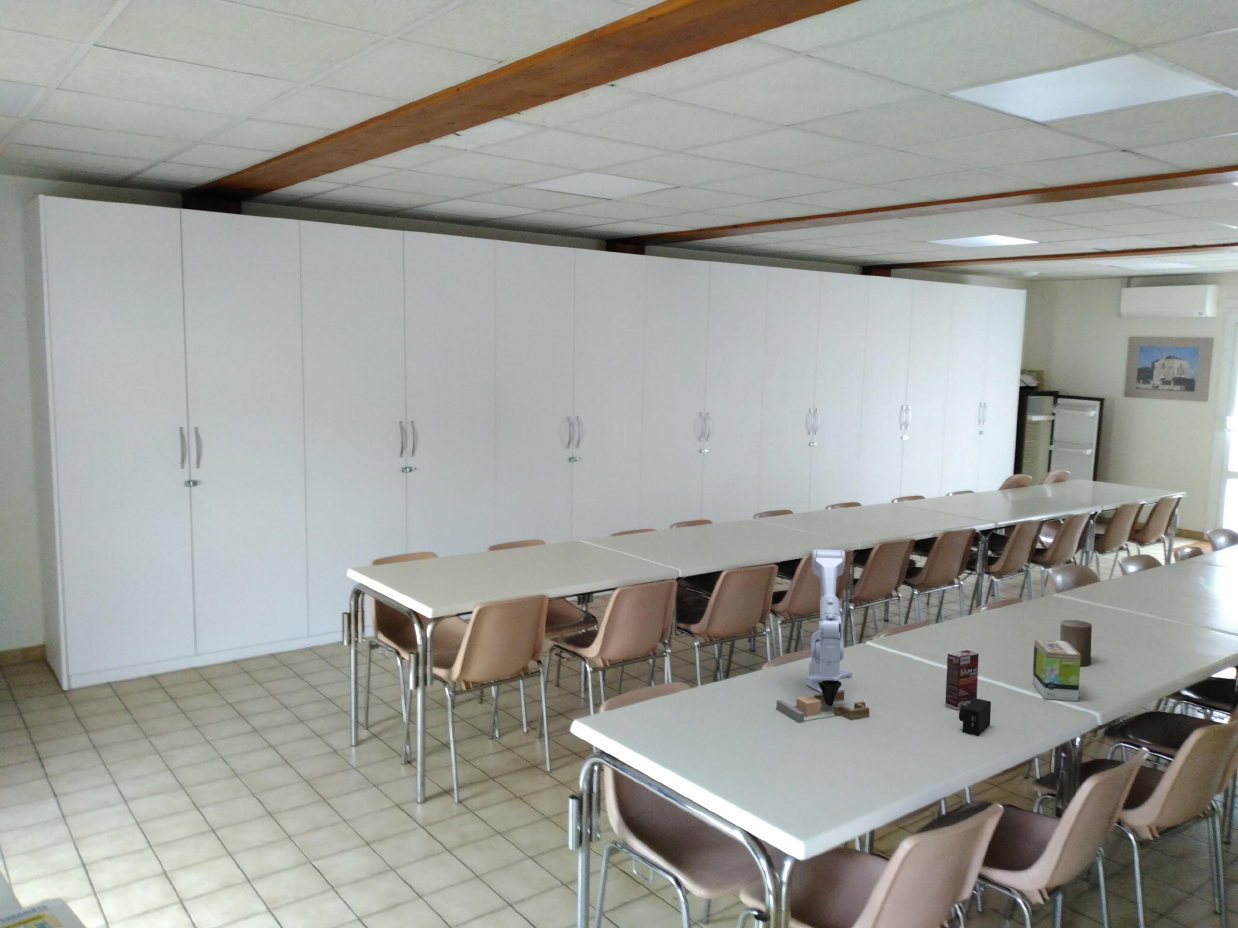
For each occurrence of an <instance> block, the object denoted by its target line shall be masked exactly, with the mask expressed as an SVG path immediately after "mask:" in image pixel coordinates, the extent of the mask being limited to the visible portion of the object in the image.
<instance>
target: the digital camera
mask: <svg viewBox="0 0 1238 928" xmlns="http://www.w3.org/2000/svg"><path fill="white" fill-rule="evenodd" d="M991 708H992V702H991V700H990V701H989V700H987V699H986V700H985V699H982V698H981V699H980V698H978V697H977V698H975V699H974V700H973V701H972V702H970V703H969V704H968V705H967V706H965V705H962V706H961V707H960V710H958V711H959V713H958V719H959V721H960V722H962V733H963V734H966V735H967V734H968V735H971V736H974V737H975V736H976V737H980V735H981V734H983V732H985V730H987V729H988V728H989V727H990V726H991V711H992V710H991Z"/></svg>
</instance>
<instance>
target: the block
mask: <svg viewBox="0 0 1238 928" xmlns="http://www.w3.org/2000/svg"><path fill="white" fill-rule="evenodd" d="M795 703H796V704H795V705H796V707H795V708H796V709H798V710H799V711H801V712H803V713H804V717H813V716H816V715H821V714H822V704H821V701H820V700H818V699H816V698H814V696H812V695H808V696H807V695H806V696H800V697H797V698H796V702H795Z"/></svg>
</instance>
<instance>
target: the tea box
mask: <svg viewBox="0 0 1238 928" xmlns="http://www.w3.org/2000/svg"><path fill="white" fill-rule="evenodd" d="M1033 645H1034V646H1033V661H1032V662H1033V664H1032V666H1033V667H1032V684H1033V686H1034V687H1035V689H1037V691H1038V692H1039V693H1040V695H1041V696H1042V697H1043V698H1044V700H1052V701H1053V700H1054V701H1068V702H1078V701H1079V691H1080V689H1079V687H1080V675H1081V666H1080V659H1081V655H1080V653H1079V652H1078V651H1077V650H1075V649H1074V648H1073V647H1072V646H1071V645H1070V644H1069V643H1068V642H1067V641H1060V640H1051V639H1050V640H1048V639H1034V644H1033Z"/></svg>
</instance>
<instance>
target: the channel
mask: <svg viewBox="0 0 1238 928" xmlns="http://www.w3.org/2000/svg"><path fill="white" fill-rule="evenodd" d="M813 697H814V698H816V699H818V700H820V701H821V705H822V704H825V701H824V696H823V693H818V694H813ZM844 700H845V690H844V691H837V693H836V696H835V699H834V702H839V701H844ZM853 705H854V707H853V709H852V708H850V707H848V706H846V705H845V704H839V705H834V706H833V714H834V715H835V717H837V716H842V717H844V718H846V719H848V720H850V721H853V720H860V719H863V718H869V717H870V707H868V706H866V702H864V701H857V702H854V704H853Z"/></svg>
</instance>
